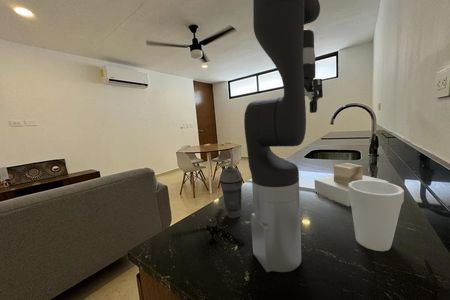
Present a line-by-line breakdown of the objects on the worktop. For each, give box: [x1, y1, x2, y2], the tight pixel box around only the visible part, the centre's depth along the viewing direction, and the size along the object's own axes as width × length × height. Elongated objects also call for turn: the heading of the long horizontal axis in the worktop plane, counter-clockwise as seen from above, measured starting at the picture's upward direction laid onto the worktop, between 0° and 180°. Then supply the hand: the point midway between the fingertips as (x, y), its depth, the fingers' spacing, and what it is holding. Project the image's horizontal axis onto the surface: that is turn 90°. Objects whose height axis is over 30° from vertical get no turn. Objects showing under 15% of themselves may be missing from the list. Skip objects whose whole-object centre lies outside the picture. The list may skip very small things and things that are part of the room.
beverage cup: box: [219, 153, 244, 219], centre depth 60 cm, size 7×7×20 cm
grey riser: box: [314, 174, 390, 207], centre depth 69 cm, size 18×14×5 cm
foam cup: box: [348, 180, 405, 252], centre depth 42 cm, size 10×9×13 cm
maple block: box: [333, 162, 364, 186], centre depth 67 cm, size 6×6×6 cm
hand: (304, 113), depth 68 cm, fingers open, 8 cm apart
